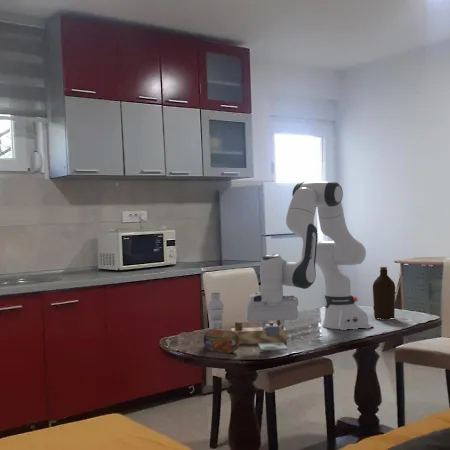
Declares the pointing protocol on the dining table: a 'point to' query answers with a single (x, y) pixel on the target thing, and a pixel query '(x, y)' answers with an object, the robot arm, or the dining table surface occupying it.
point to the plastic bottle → (216, 312)
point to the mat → (272, 346)
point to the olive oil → (384, 296)
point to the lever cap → (272, 329)
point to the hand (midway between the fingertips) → (272, 331)
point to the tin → (221, 340)
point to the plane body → (258, 334)
